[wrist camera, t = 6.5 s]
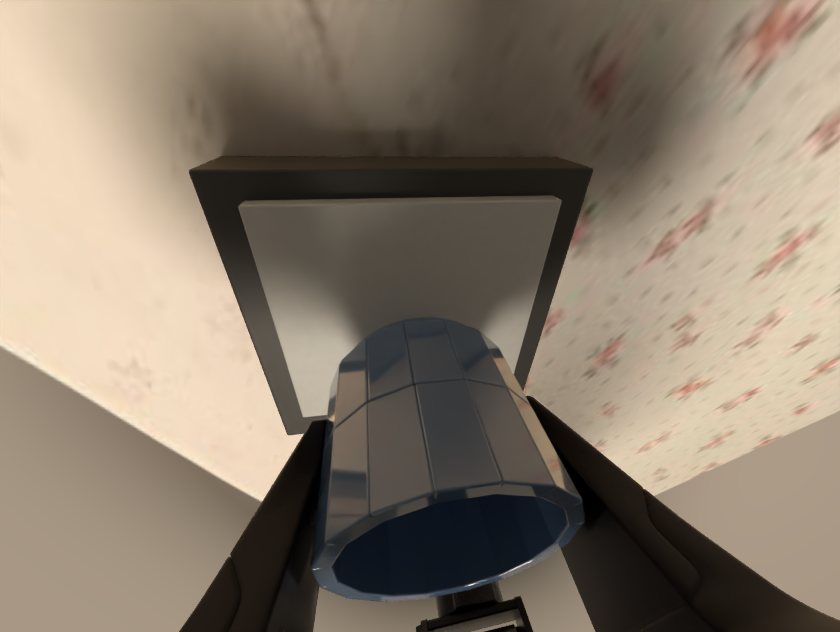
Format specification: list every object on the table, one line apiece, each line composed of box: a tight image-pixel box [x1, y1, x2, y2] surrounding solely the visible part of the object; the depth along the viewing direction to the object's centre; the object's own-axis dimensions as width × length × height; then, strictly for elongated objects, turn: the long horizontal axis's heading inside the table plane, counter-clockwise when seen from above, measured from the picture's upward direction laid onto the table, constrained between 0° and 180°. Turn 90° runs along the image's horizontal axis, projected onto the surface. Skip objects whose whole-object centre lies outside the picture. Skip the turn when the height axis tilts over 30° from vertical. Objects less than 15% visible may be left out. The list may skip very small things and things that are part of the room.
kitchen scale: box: [189, 156, 593, 435], centre depth 13 cm, size 12×12×3 cm
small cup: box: [310, 317, 585, 602], centre depth 8 cm, size 6×6×5 cm
